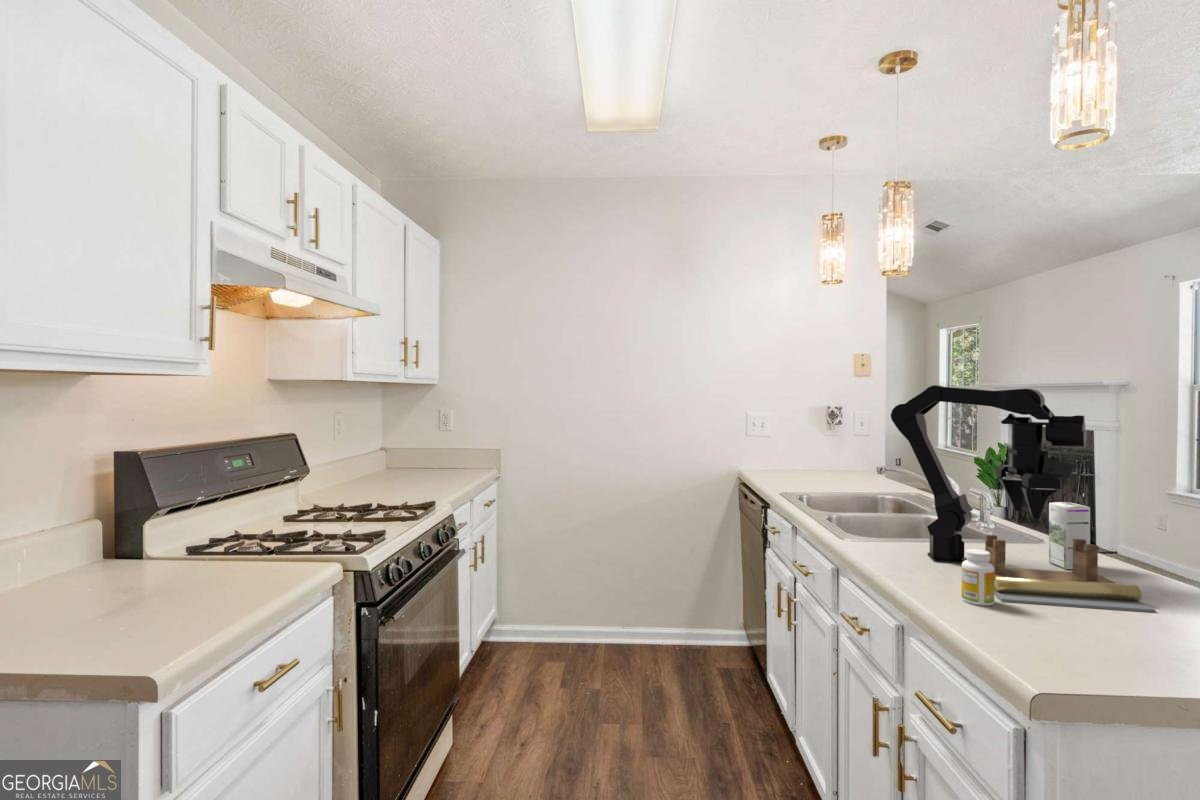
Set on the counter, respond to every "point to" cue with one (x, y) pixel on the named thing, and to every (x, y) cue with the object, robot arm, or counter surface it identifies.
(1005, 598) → the slate mat
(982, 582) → the supplement bottle
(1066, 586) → the brass rail
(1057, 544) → the syrup box
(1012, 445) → the robot arm
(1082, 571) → the cradle rack
